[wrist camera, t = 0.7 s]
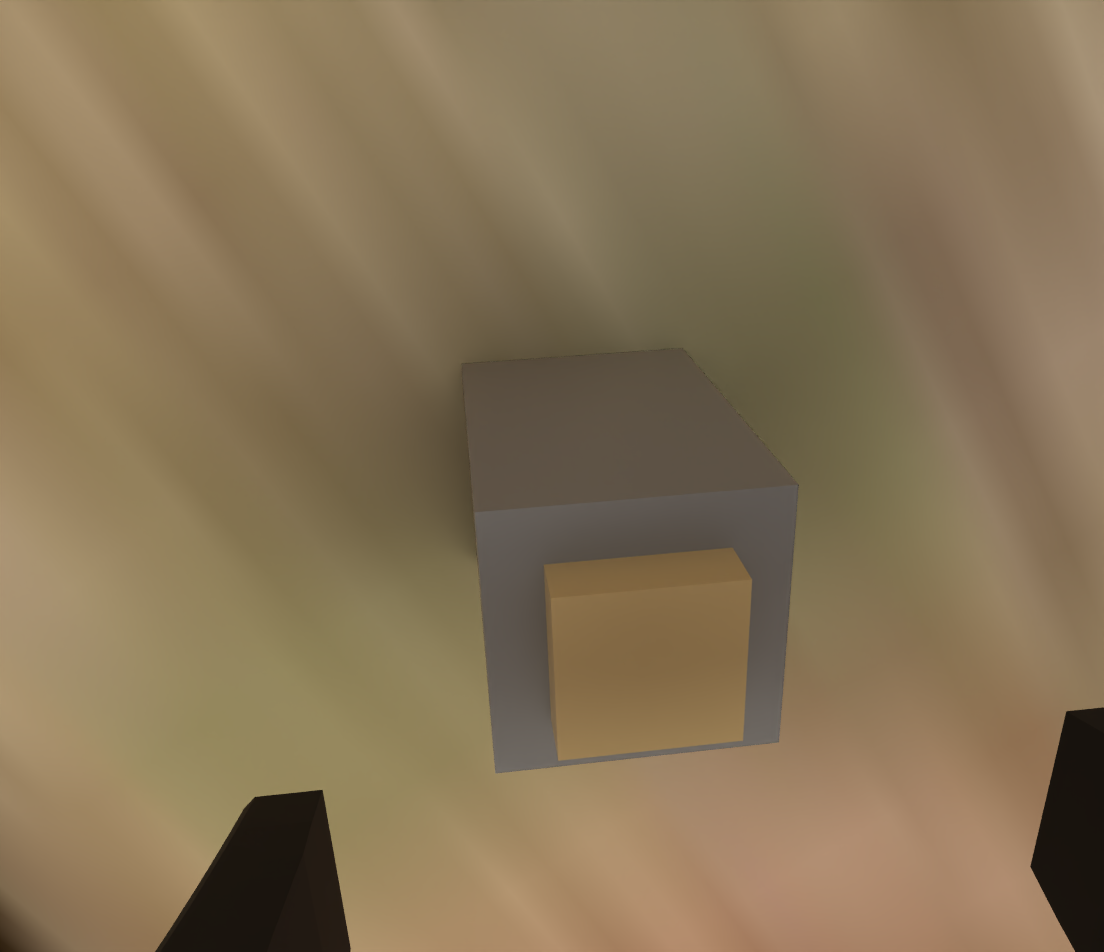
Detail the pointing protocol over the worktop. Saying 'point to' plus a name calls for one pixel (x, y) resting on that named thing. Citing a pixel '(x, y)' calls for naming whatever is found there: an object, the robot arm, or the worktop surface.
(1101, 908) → the robot arm
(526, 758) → the slate plug
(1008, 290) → the worktop surface
